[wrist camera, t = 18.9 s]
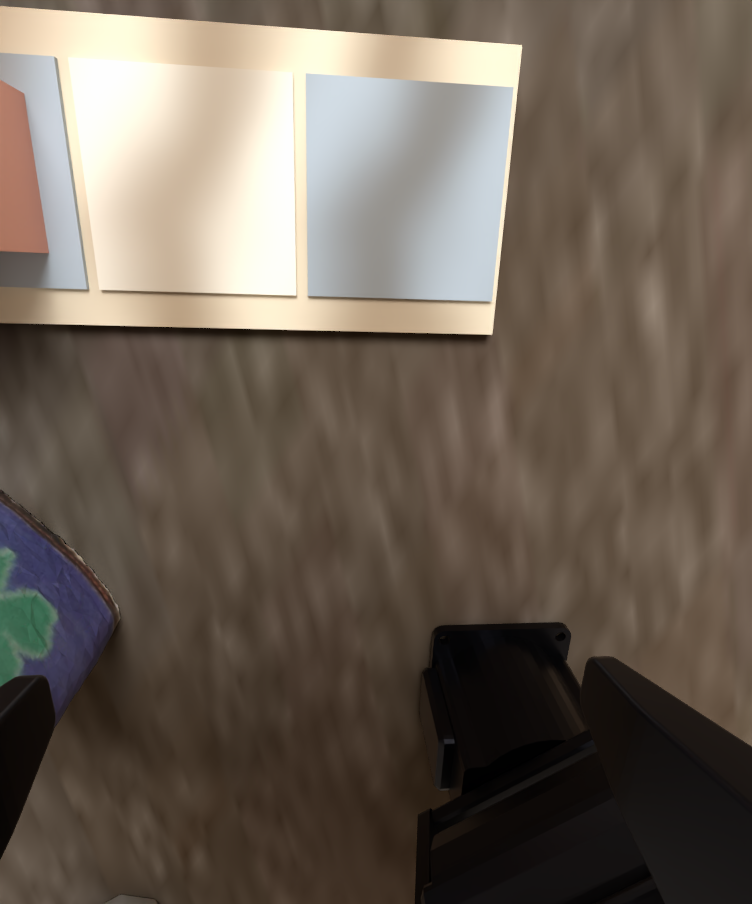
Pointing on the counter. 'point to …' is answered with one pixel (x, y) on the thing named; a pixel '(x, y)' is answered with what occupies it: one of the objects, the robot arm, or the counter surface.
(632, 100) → the counter surface
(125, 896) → the salt shaker
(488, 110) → the board
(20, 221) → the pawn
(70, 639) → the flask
